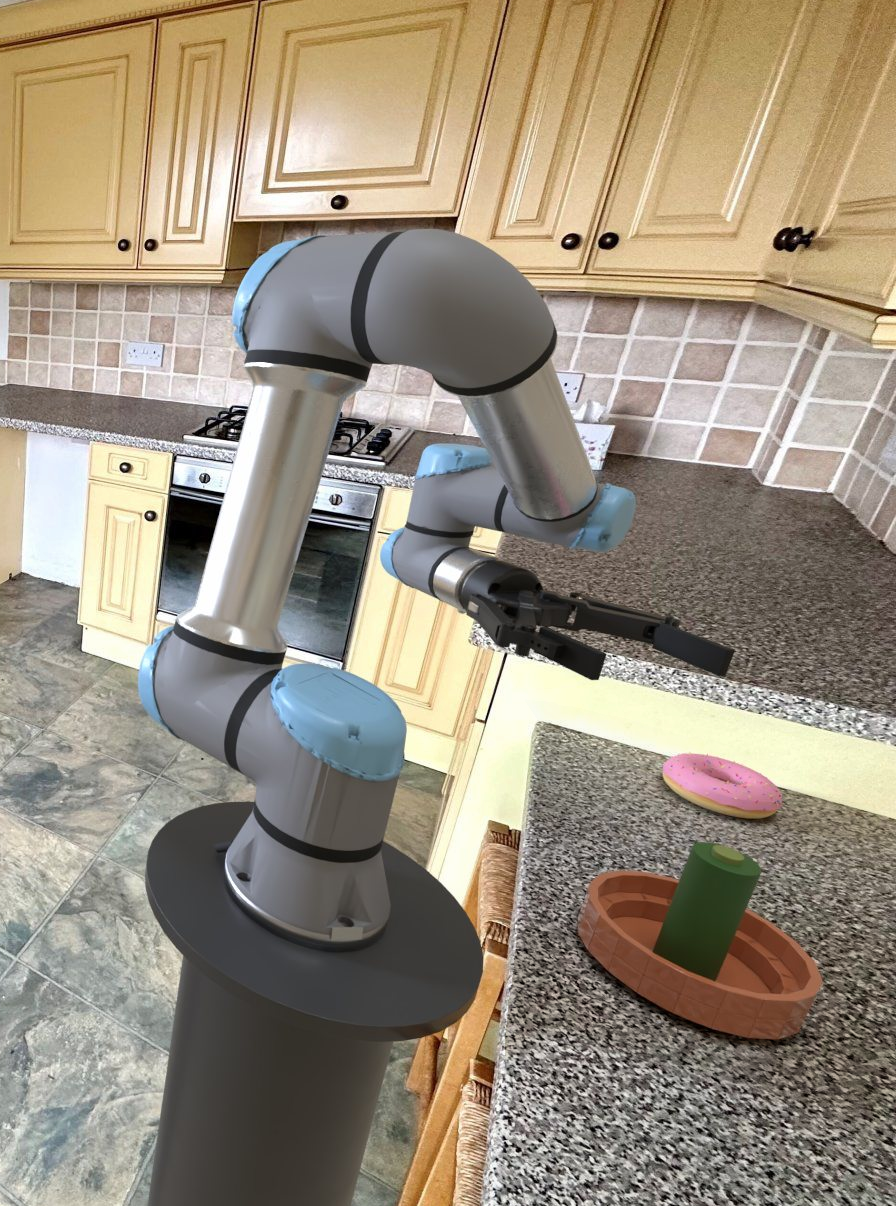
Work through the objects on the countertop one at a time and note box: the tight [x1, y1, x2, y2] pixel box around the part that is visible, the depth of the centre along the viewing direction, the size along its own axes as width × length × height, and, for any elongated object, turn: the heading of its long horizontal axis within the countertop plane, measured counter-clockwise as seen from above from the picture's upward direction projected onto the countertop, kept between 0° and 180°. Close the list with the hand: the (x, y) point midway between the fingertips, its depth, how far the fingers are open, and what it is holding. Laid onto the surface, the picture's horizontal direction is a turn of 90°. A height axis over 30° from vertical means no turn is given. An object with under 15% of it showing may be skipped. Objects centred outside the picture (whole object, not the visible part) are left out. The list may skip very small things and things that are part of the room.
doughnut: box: [662, 751, 784, 819], centre depth 98 cm, size 11×11×4 cm
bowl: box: [577, 869, 823, 1040], centre depth 71 cm, size 15×15×5 cm
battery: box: [653, 841, 763, 981], centre depth 70 cm, size 4×4×13 cm
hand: (664, 665), depth 73 cm, fingers open, 13 cm apart
